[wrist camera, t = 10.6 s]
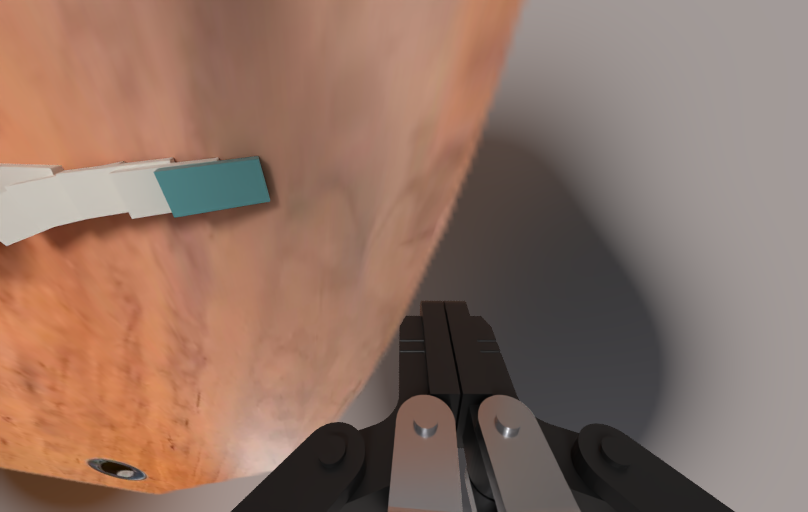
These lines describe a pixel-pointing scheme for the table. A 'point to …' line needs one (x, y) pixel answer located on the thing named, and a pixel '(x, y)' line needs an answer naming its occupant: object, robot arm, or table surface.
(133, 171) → the domino
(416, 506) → the robot arm
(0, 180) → the domino
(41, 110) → the table surface
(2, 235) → the domino
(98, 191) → the domino
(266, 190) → the domino
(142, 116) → the table surface
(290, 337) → the table surface
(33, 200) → the domino
